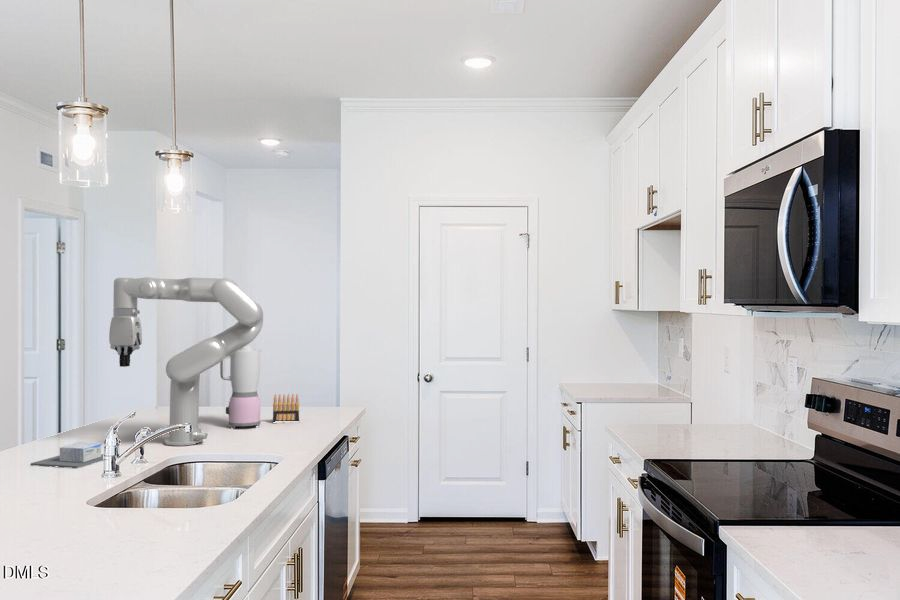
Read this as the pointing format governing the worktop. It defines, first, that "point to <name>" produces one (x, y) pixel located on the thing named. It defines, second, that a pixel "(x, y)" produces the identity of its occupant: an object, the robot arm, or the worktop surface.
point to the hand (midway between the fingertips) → (124, 366)
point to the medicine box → (80, 452)
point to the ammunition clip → (286, 409)
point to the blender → (243, 387)
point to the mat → (56, 462)
